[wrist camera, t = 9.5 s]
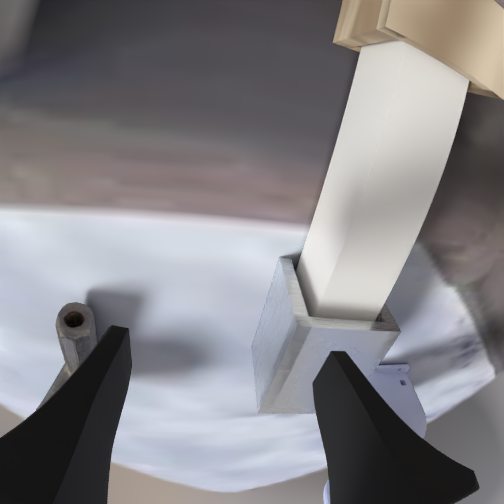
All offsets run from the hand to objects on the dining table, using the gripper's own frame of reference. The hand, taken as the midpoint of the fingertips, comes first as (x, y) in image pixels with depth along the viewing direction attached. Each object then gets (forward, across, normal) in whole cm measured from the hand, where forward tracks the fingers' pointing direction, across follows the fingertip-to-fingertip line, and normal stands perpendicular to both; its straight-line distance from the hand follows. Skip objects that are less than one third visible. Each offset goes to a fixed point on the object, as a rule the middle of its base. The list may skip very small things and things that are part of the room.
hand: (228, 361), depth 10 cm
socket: (+10, -7, -15) cm, 20 cm away
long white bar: (+10, -7, -6) cm, 14 cm away
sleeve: (+10, -7, +6) cm, 14 cm away
